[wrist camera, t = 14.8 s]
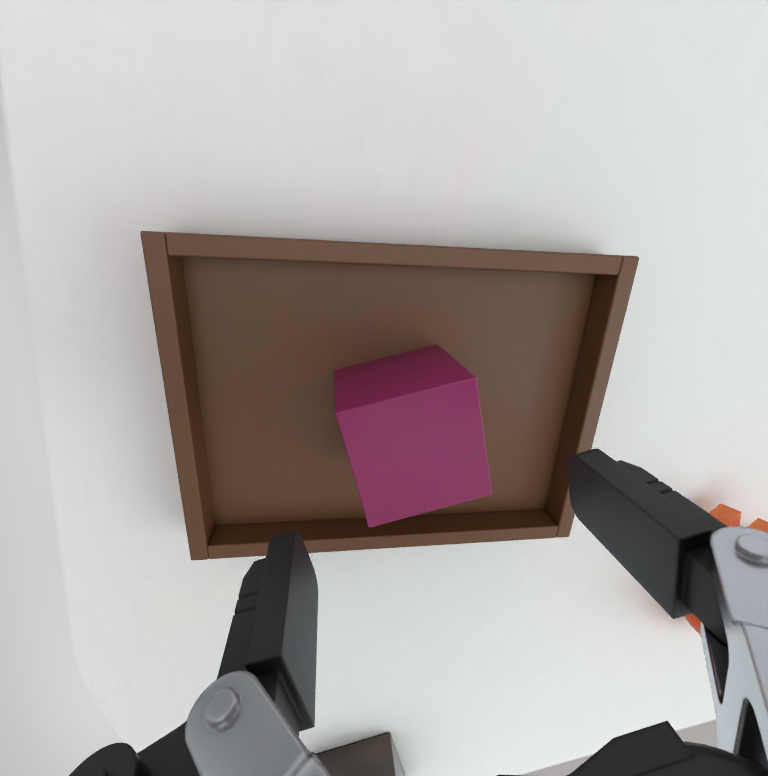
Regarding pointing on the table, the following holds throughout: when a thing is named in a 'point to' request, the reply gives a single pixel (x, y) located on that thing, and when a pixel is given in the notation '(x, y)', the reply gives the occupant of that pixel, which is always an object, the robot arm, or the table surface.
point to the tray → (364, 344)
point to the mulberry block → (412, 433)
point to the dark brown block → (364, 758)
